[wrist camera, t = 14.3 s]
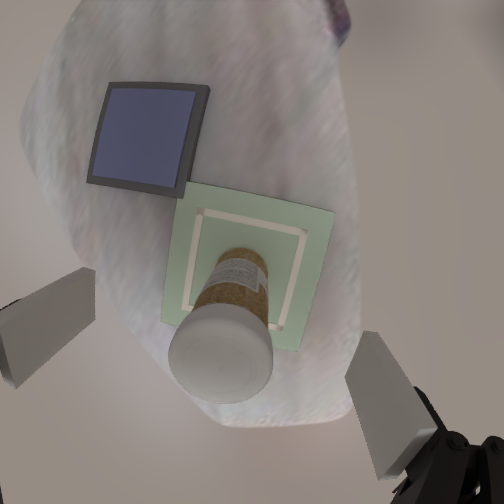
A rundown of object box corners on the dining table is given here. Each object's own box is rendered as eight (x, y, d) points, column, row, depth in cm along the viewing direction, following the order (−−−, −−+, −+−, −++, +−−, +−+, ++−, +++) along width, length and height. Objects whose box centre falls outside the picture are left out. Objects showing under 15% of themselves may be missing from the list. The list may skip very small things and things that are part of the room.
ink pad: (114, 85, 22) (108, 81, 21) (210, 89, 22) (207, 84, 21) (91, 182, 24) (84, 182, 23) (185, 198, 24) (181, 199, 23)
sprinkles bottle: (260, 303, 25) (257, 416, 12) (209, 290, 25) (161, 392, 12) (274, 253, 24) (288, 337, 11) (220, 239, 24) (172, 308, 11)
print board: (183, 180, 24) (180, 180, 23) (333, 212, 24) (336, 212, 23) (163, 318, 27) (160, 322, 26) (296, 348, 27) (297, 353, 26)
